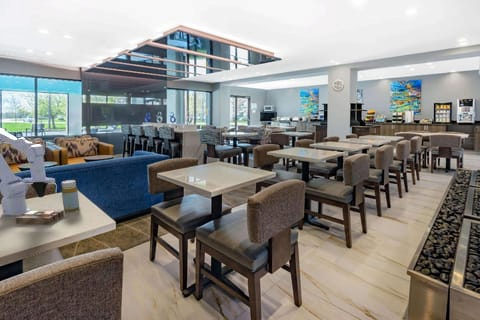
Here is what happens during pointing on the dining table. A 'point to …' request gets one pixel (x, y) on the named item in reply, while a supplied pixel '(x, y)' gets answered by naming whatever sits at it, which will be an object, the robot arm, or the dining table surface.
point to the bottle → (70, 195)
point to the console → (40, 218)
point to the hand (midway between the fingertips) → (41, 196)
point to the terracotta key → (48, 213)
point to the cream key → (31, 213)
